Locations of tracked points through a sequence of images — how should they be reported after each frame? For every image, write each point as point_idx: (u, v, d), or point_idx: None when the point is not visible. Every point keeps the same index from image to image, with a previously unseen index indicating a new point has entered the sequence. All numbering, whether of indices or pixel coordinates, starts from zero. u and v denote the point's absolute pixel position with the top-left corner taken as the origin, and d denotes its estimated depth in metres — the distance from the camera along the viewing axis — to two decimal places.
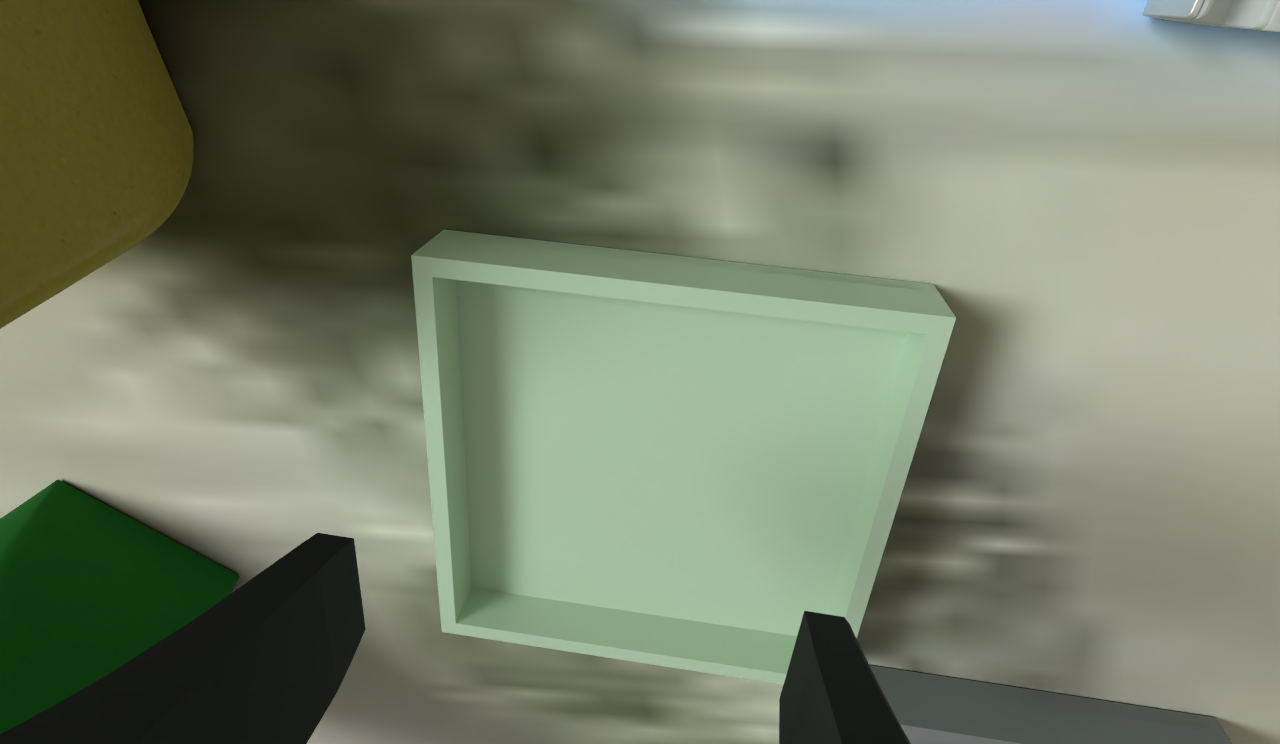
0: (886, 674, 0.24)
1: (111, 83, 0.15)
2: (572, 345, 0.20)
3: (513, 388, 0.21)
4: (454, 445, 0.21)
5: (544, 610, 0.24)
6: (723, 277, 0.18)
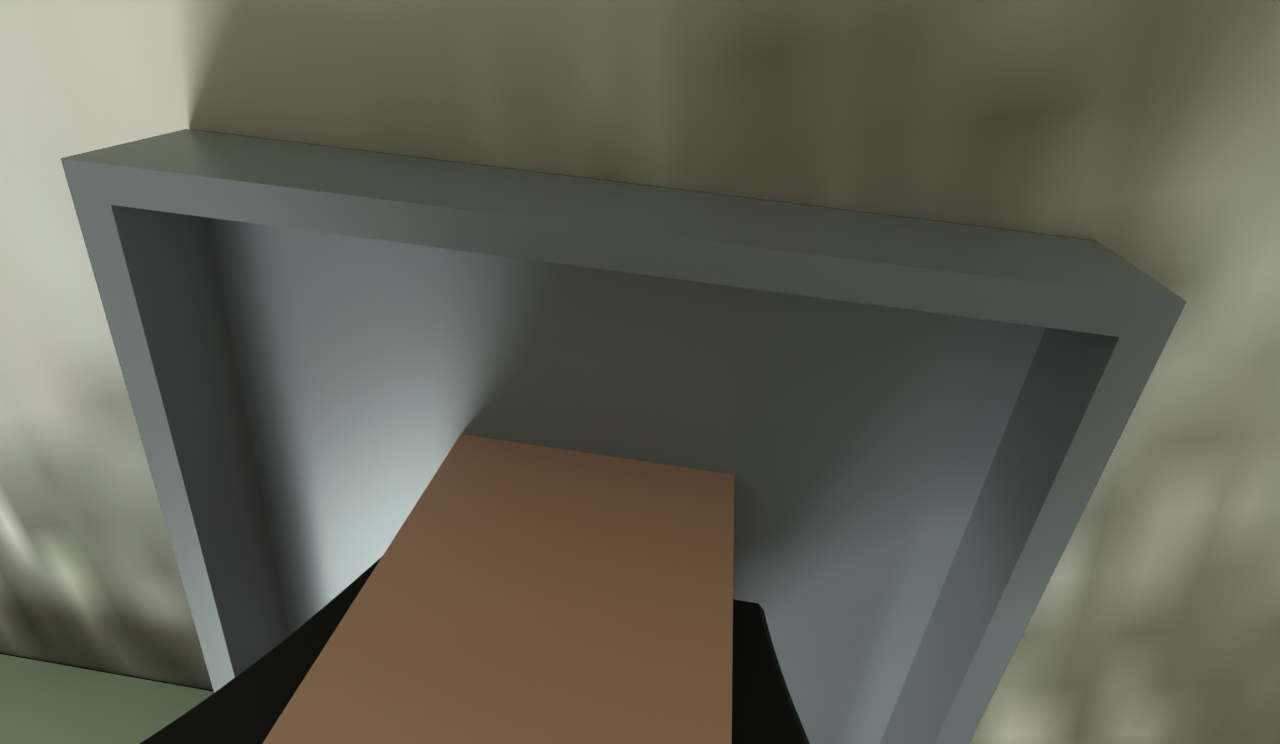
0: None
1: None
2: None
3: None
4: None
5: None
6: None
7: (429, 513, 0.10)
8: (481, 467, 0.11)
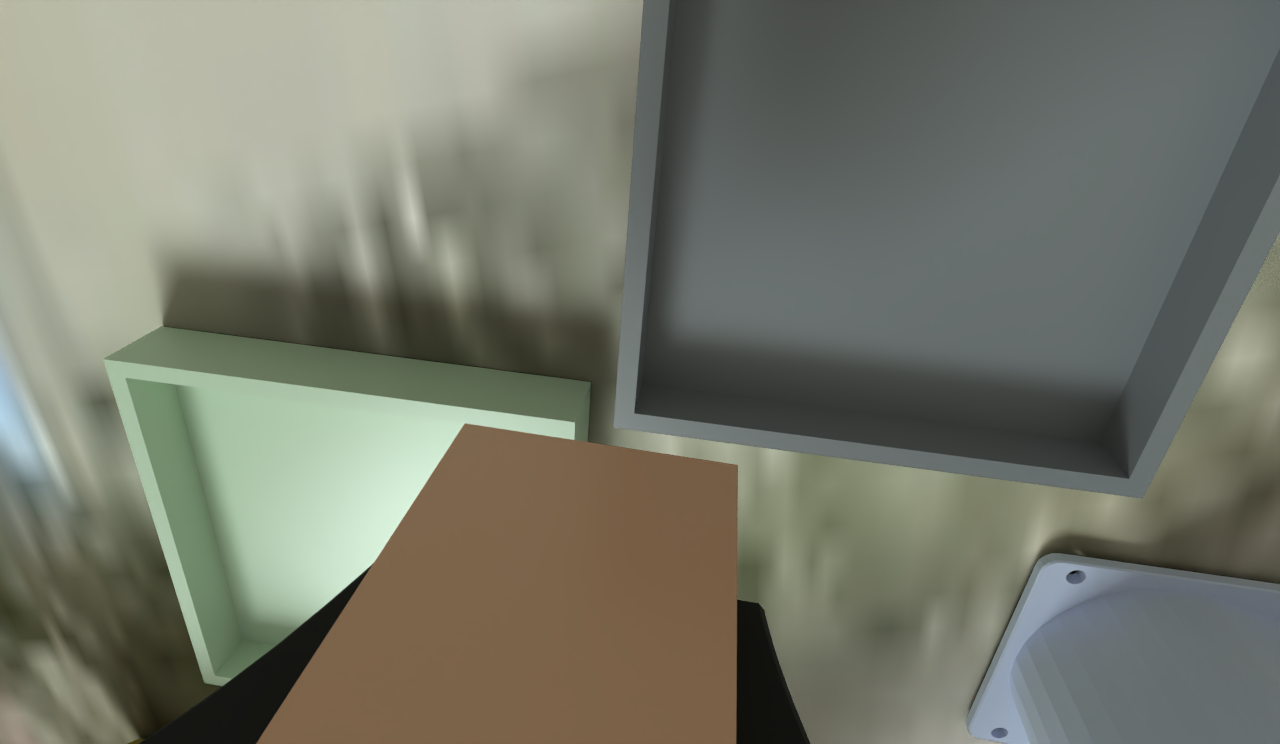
0: None
1: None
2: (285, 584, 0.25)
3: None
4: None
5: None
6: None
7: (434, 501, 0.10)
8: (485, 455, 0.11)
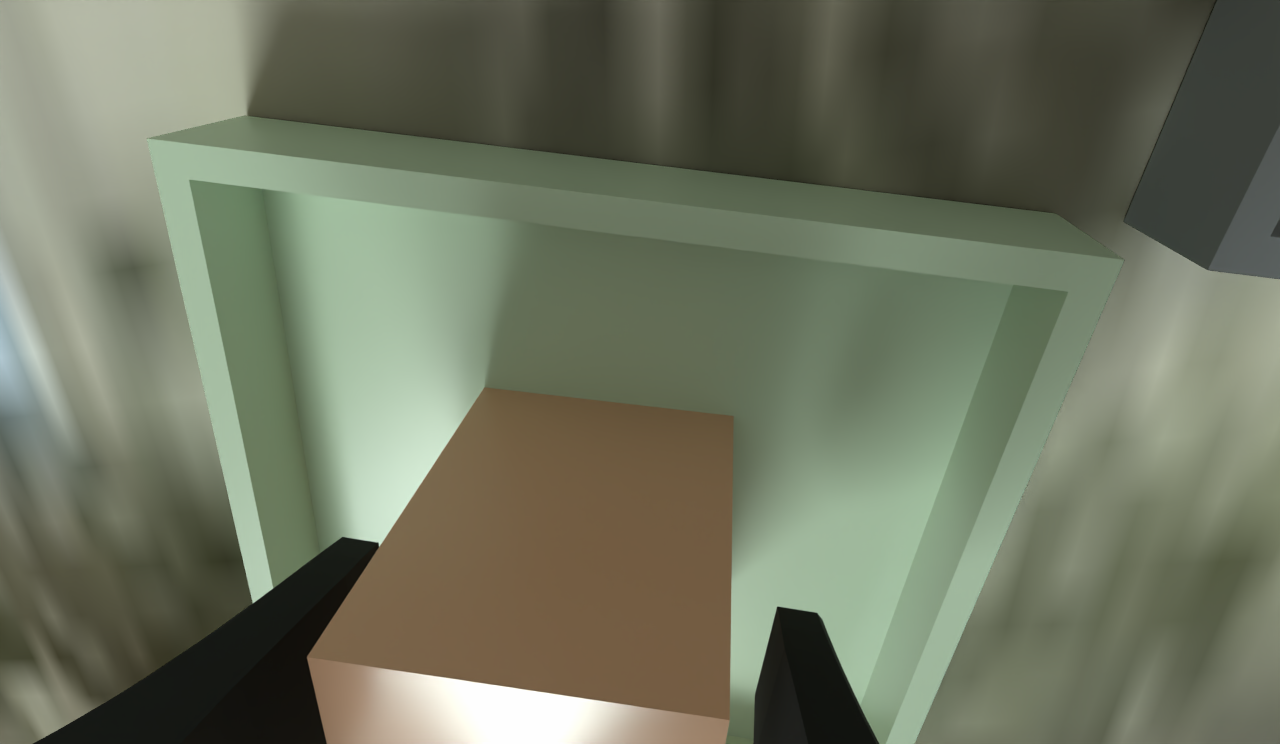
0: (1196, 79, 0.10)
1: None
2: None
3: None
4: None
5: (875, 696, 0.15)
6: None
7: (460, 450, 0.11)
8: (504, 413, 0.12)
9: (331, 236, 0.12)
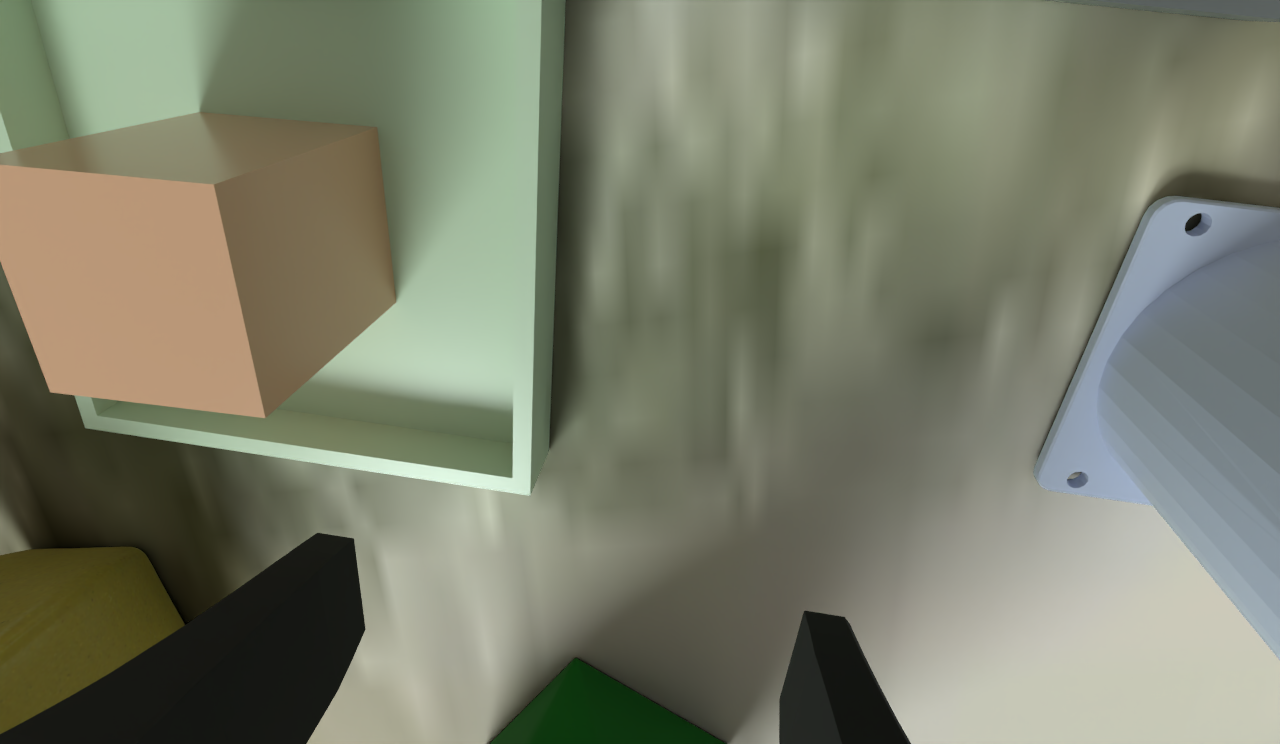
0: None
1: None
2: None
3: None
4: (299, 428, 0.20)
5: None
6: None
7: (149, 125, 0.15)
8: (201, 118, 0.17)
9: None
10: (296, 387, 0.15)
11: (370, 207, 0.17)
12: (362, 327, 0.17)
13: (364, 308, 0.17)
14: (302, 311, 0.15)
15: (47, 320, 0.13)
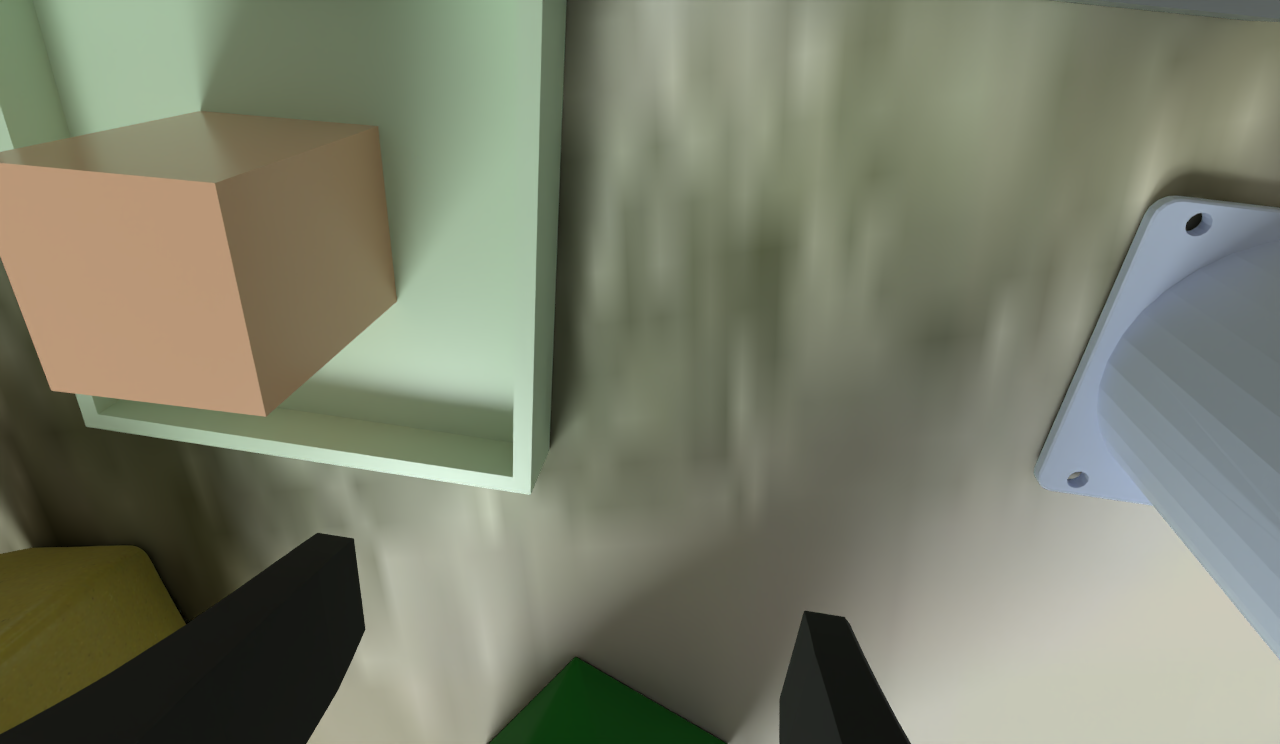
0: None
1: None
2: None
3: None
4: (300, 427, 0.20)
5: None
6: None
7: (150, 124, 0.16)
8: (202, 117, 0.17)
9: None
10: (297, 386, 0.15)
11: (371, 206, 0.17)
12: (363, 326, 0.17)
13: (365, 307, 0.17)
14: (303, 310, 0.15)
15: (48, 318, 0.13)
